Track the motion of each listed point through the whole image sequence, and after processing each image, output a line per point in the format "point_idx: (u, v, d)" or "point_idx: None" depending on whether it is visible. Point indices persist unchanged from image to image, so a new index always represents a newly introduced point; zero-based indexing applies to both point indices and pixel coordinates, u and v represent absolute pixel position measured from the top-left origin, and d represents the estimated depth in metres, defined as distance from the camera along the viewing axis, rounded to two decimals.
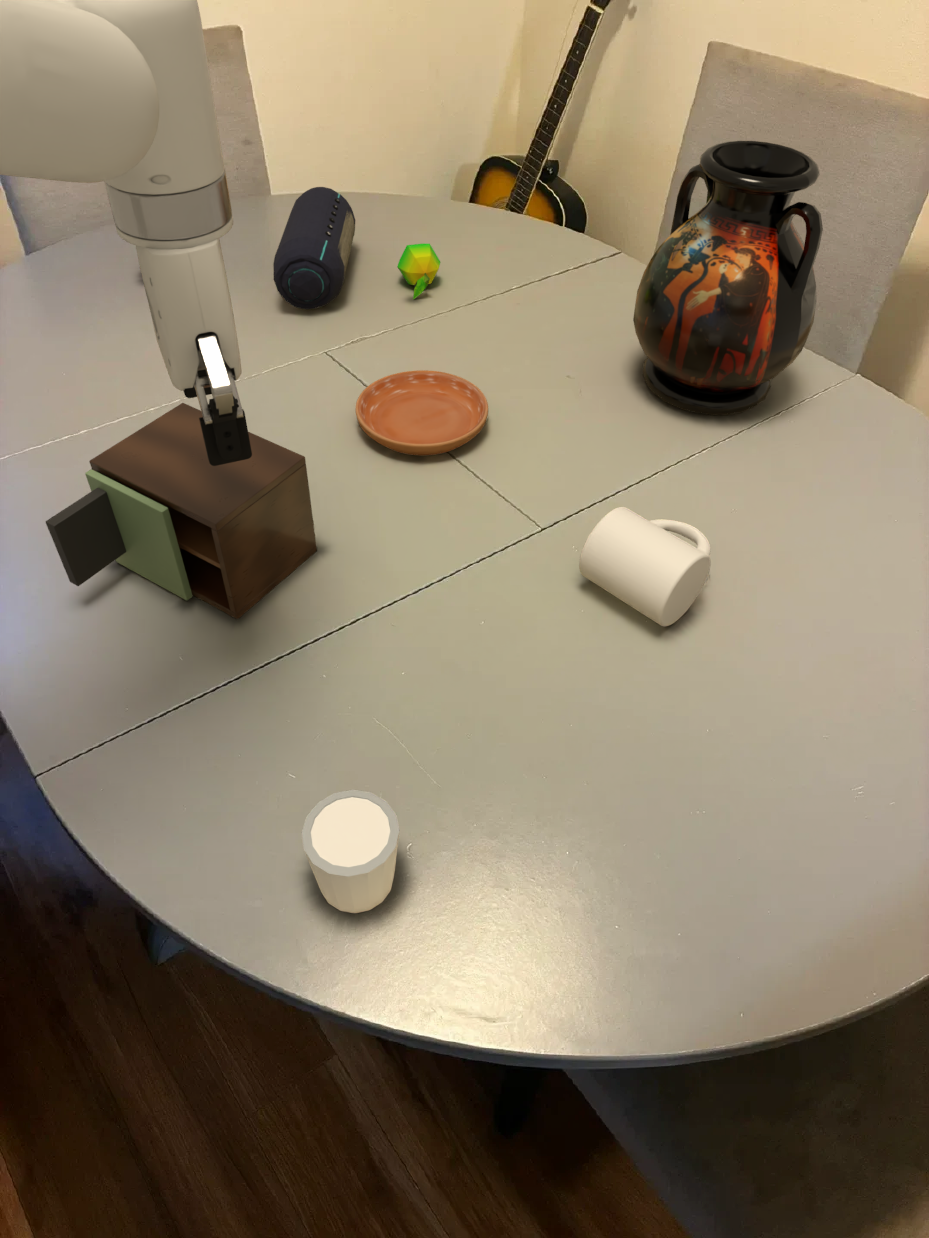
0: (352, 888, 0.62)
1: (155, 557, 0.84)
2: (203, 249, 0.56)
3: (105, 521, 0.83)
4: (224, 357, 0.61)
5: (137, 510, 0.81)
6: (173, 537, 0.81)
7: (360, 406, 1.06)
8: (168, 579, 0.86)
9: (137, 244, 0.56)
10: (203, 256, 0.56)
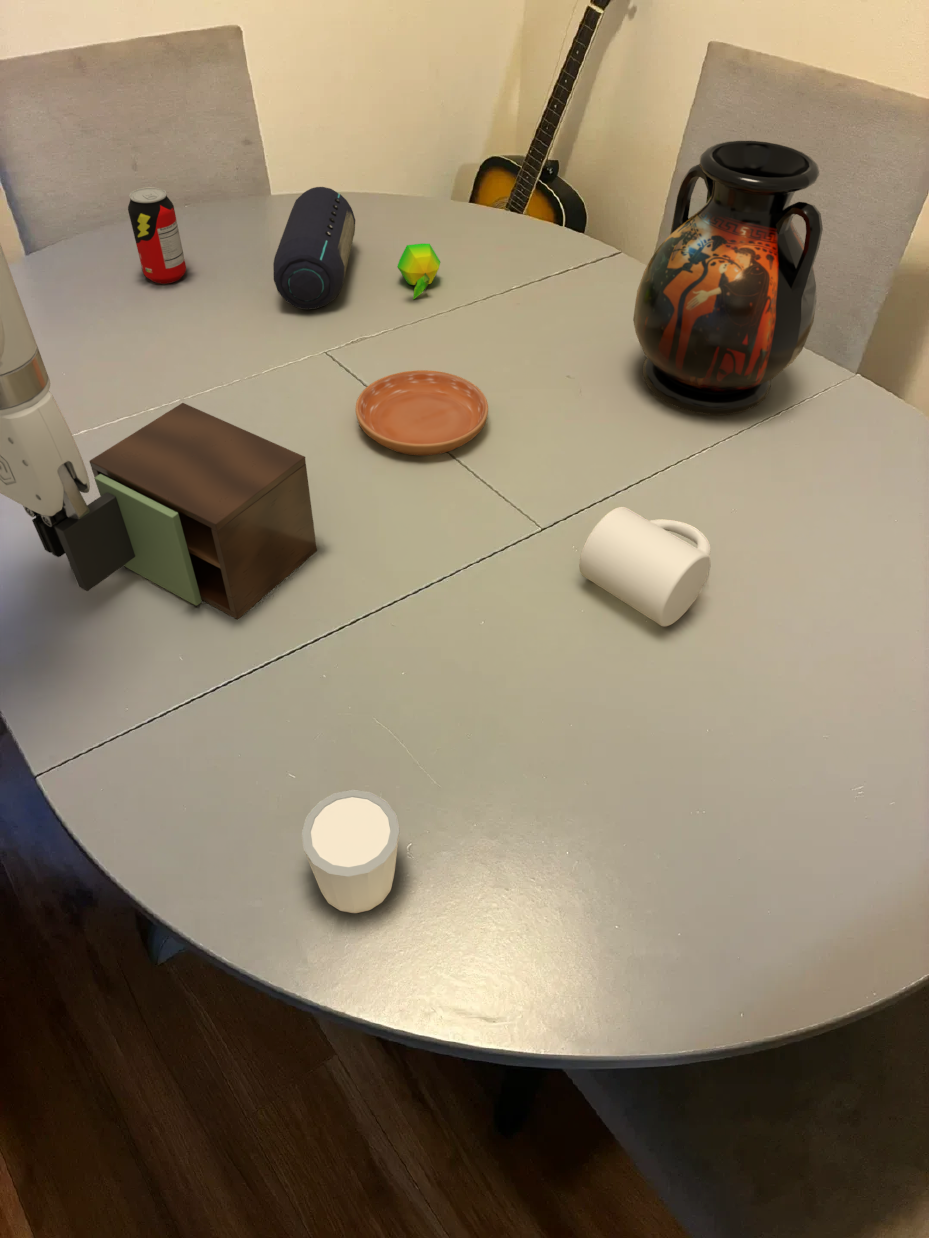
0: (352, 888, 0.62)
1: (165, 562, 0.84)
2: (46, 402, 0.71)
3: (114, 526, 0.83)
4: (79, 477, 0.76)
5: (147, 515, 0.80)
6: (183, 542, 0.81)
7: (360, 406, 1.06)
8: (178, 584, 0.85)
9: None
10: (48, 407, 0.71)
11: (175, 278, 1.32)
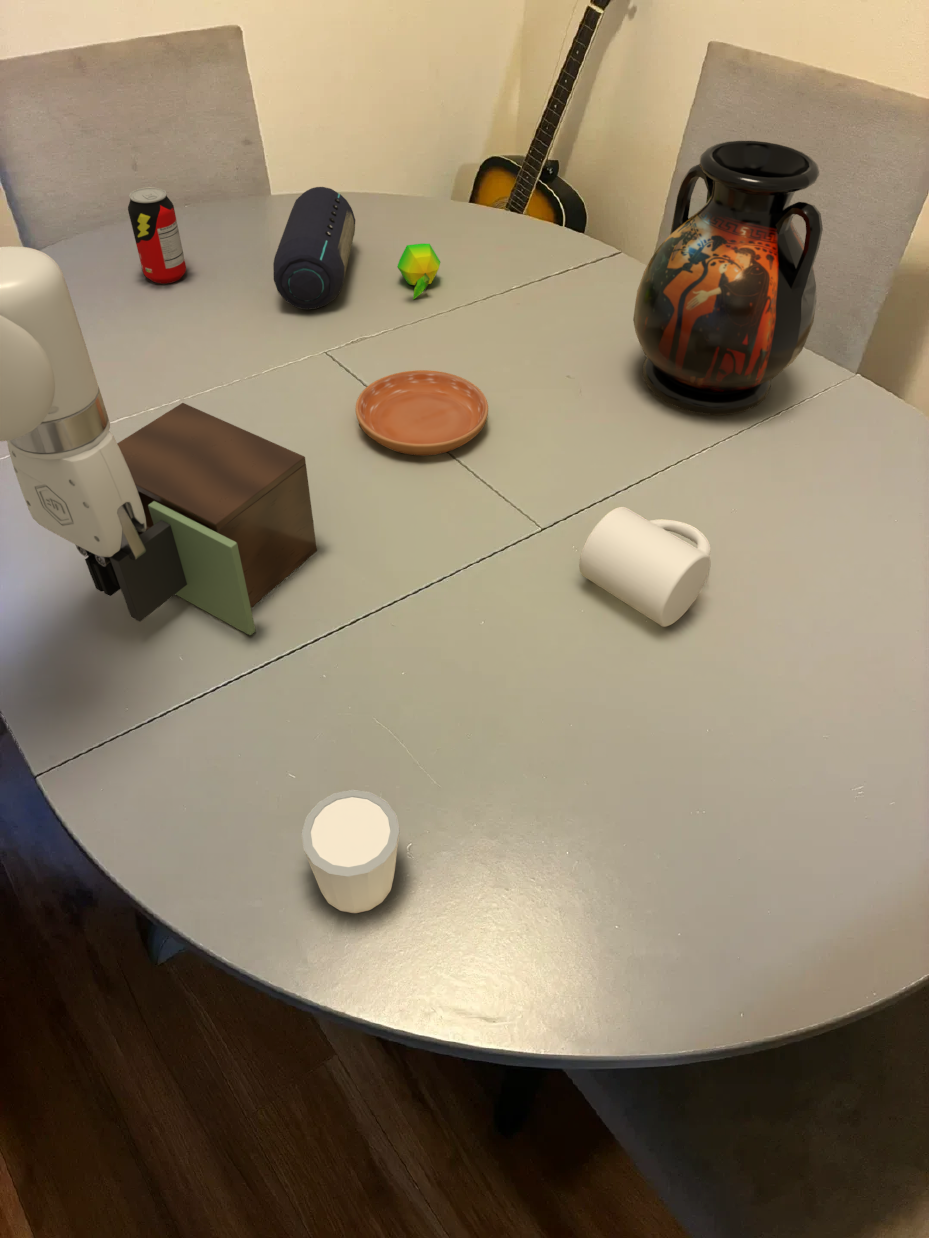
0: (352, 888, 0.62)
1: (219, 591, 0.81)
2: (108, 443, 0.69)
3: (168, 554, 0.80)
4: (137, 517, 0.74)
5: (203, 544, 0.78)
6: (240, 572, 0.78)
7: (360, 406, 1.06)
8: (231, 613, 0.83)
9: (53, 458, 0.68)
10: (109, 448, 0.69)
11: (175, 278, 1.32)
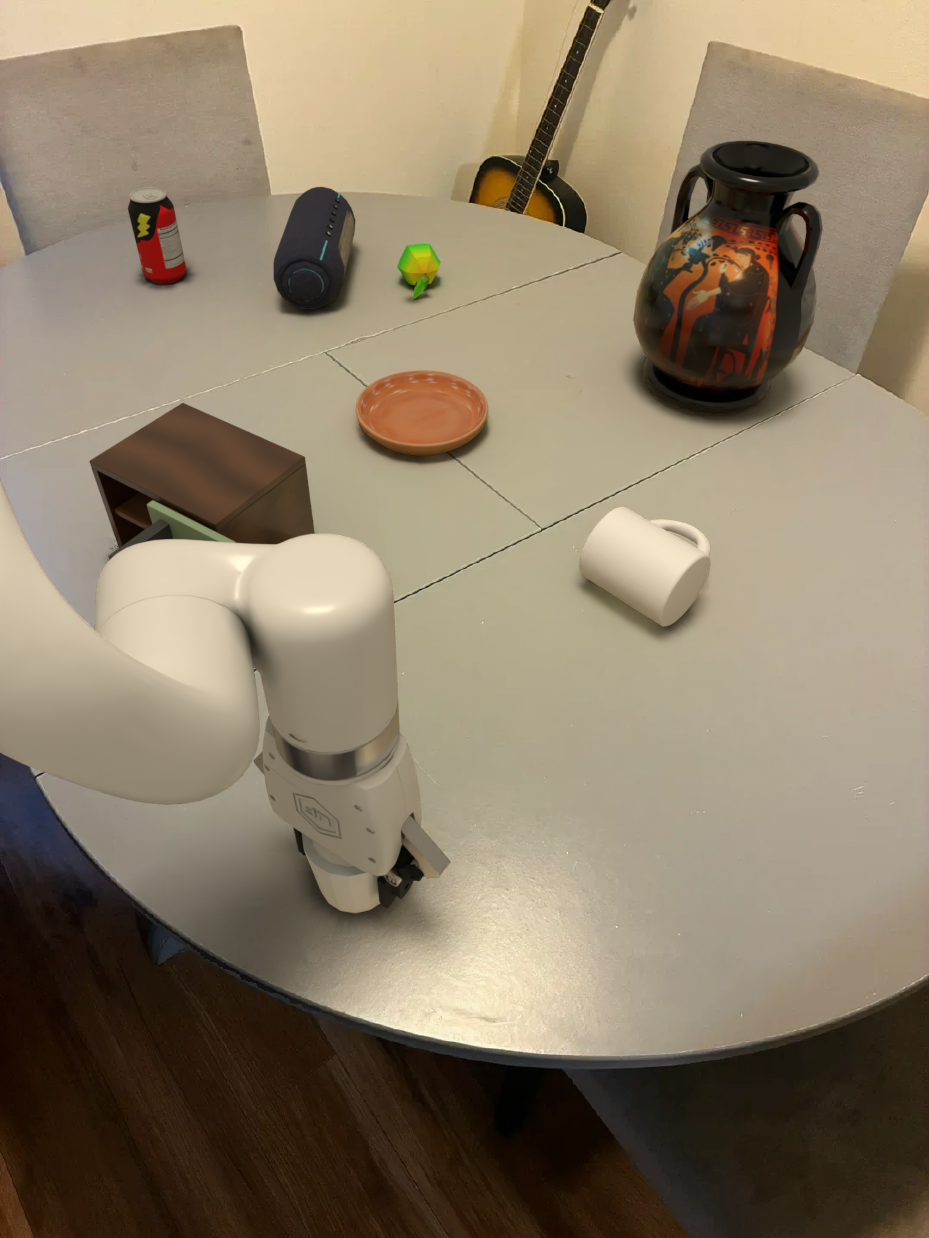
0: (352, 888, 0.62)
1: None
2: (403, 754, 0.53)
3: None
4: None
5: None
6: None
7: (360, 406, 1.06)
8: None
9: (341, 784, 0.51)
10: (405, 760, 0.53)
11: (175, 278, 1.32)
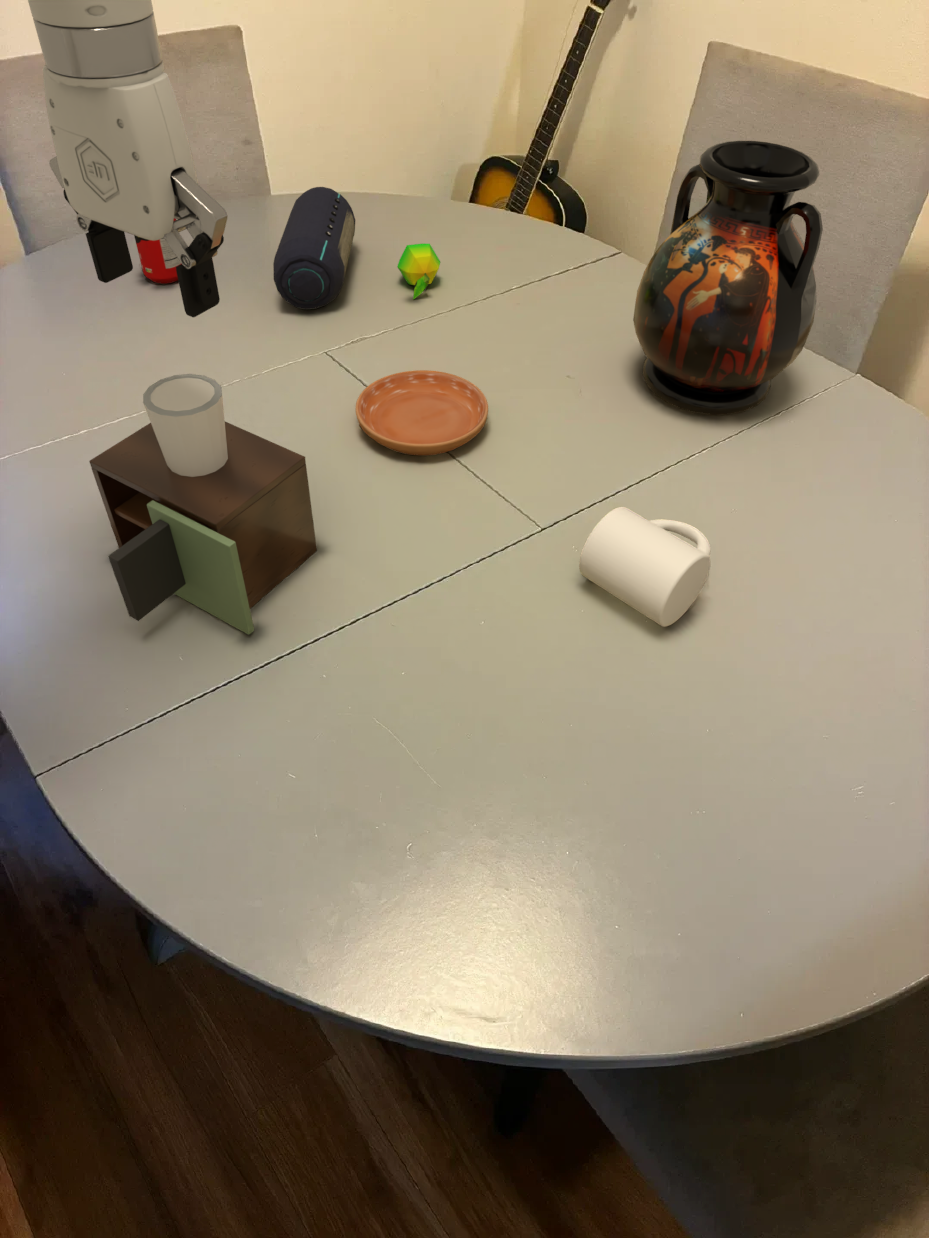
0: (182, 436, 0.77)
1: (218, 590, 0.82)
2: (162, 80, 0.59)
3: (166, 554, 0.80)
4: None
5: (201, 543, 0.78)
6: (239, 571, 0.78)
7: (360, 406, 1.06)
8: (230, 612, 0.83)
9: (99, 86, 0.57)
10: (164, 87, 0.59)
11: (175, 278, 1.32)
